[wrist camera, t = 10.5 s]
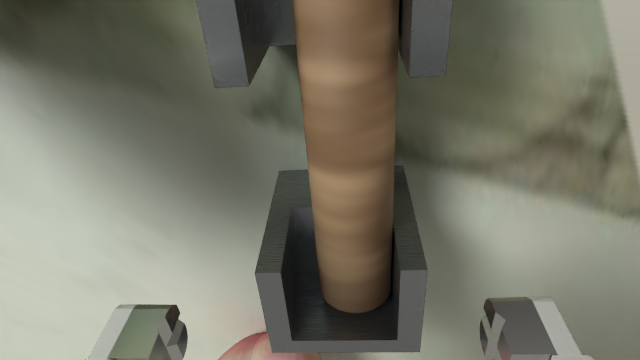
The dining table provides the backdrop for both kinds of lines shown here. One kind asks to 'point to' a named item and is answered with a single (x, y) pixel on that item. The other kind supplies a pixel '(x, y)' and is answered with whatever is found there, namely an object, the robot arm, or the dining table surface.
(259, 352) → the decorative fruit
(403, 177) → the bracket
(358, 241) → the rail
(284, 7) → the bracket
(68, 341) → the dining table surface
